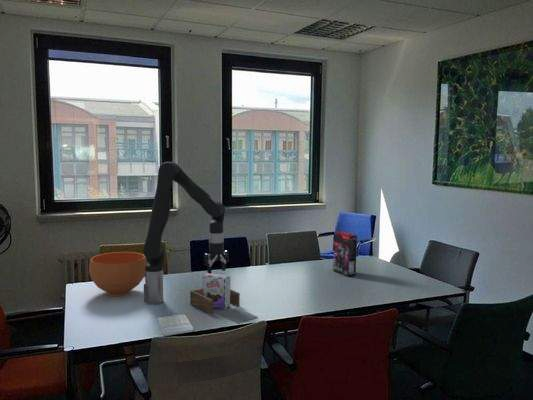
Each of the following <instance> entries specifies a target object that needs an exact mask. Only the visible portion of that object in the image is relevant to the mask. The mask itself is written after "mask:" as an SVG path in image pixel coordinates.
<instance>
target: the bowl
mask: <svg viewBox="0 0 533 400" xmlns="http://www.w3.org/2000/svg"><path fill="white" fill-rule="evenodd" d="M146 262H147V257H146V256H145V255H144V253H140V252H139V253H138V252H135V251H115V252H107V253H102V254H97V255H95V256H92V257H91V258H90V259H89V263H88V264H89V266H88V270H89V273H88V274H89V276H90V278H91V281H92V282H93V283H94V284H95V286H96V287H97V288H98V289H100V290H102V291H103V292H105V293H107V294H108V296H109V297H115V298H116V297H117V298H118V297H124V296H127V295H129V294H130V292H131V291H132V290H133V289H135V288H136V287H138V286H139V285H140V284H141V282H142V281H143V279H145V265H146Z"/></svg>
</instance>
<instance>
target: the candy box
mask: <svg viewBox="0 0 533 400" xmlns="http://www.w3.org/2000/svg"><path fill="white" fill-rule="evenodd" d="M202 288H203V296H205V297H207V298H210V299H212V308H216V309H221V310H227V309H228V308H230V307H231V303H230V289H231V275H224V274H221V273H219V274H218V273H213V272H212V273H211V274H209V273H208V272H206V273H204V274H203V275H202Z"/></svg>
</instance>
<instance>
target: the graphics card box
mask: <svg viewBox="0 0 533 400" xmlns="http://www.w3.org/2000/svg"><path fill="white" fill-rule="evenodd" d="M333 238H334V239H333V240H334V241H333V242H334V243H333V266H332V267H333V268H332V271H333V272H336V273H338V274H341V275H343V276H345V277H353V276H356V271H357V267H356V266H357V249H358V248H357V246H358V245H357V244H358V235H357V234H353V233H349V232H345V231H335V232H334V237H333Z"/></svg>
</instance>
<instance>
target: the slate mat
mask: <svg viewBox="0 0 533 400" xmlns="http://www.w3.org/2000/svg"><path fill="white" fill-rule="evenodd" d="M217 314H218V315H220V316H222V317H224V318H227V319H228V320H230V321H233V322H234V323H236V324H241V323H244V322H249V321H251V320H254V319H258V315H257V316H256V315H254V314H252V313H250V312H247V311H245V310H244V309H243V310H242V309H241V308H239V307H234V308H229V309H225V310H222V311H219V312H217Z"/></svg>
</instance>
